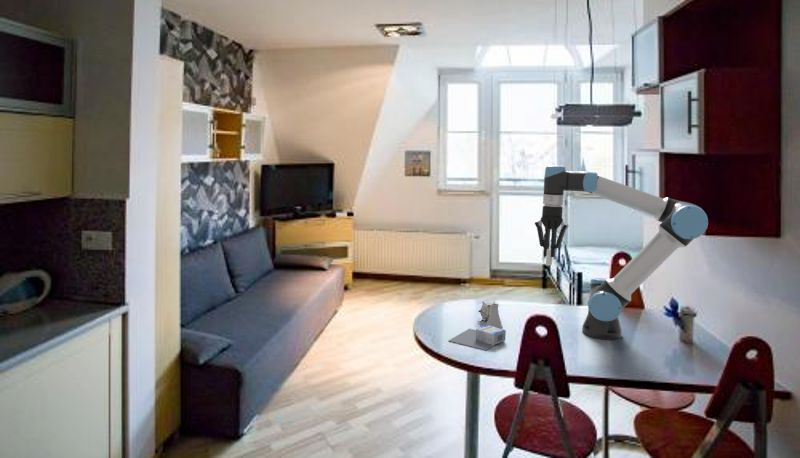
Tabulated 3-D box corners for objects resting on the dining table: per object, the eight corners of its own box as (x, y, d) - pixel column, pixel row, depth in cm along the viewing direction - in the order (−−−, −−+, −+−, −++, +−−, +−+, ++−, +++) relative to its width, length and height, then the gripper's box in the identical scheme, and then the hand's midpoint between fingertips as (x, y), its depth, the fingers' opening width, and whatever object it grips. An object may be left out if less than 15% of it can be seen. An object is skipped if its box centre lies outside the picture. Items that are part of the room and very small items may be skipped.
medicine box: (494, 334, 205) (475, 328, 211) (493, 345, 206) (475, 339, 212) (506, 330, 211) (488, 324, 217) (505, 341, 211) (487, 335, 217)
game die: (489, 327, 240) (502, 308, 241) (491, 326, 231) (504, 307, 233) (472, 315, 241) (485, 297, 243) (473, 314, 233) (486, 295, 234)
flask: (484, 324, 232) (485, 301, 231) (501, 324, 232) (502, 302, 231) (486, 329, 225) (487, 306, 224) (503, 330, 225) (505, 307, 223)
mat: (505, 337, 216) (505, 336, 216) (486, 350, 201) (486, 349, 201) (469, 329, 225) (469, 328, 225) (448, 341, 210) (448, 340, 210)
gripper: (533, 204, 212) (529, 264, 215) (566, 207, 204) (562, 268, 208) (539, 203, 218) (536, 261, 221) (572, 206, 211) (568, 265, 214)
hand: (548, 264), depth 214 cm, fingers closed
